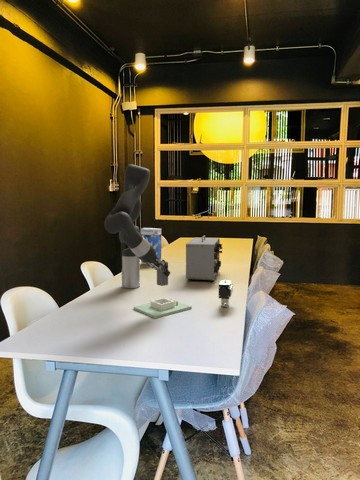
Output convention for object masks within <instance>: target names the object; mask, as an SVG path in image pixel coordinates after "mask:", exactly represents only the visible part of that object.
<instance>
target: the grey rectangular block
mask: <svg viewBox="0 0 360 480" xmlns="http://www.w3.org/2000/svg"><path fill="white" fill-rule="evenodd" d="M165 262H166V264H167V265H168V266H169V262H168V261H165ZM159 265H160V264H159ZM167 269H168V270H169V267H168V268H167ZM156 285H157V286H161V287H163V286H168V285H169V276H166V275H165V274H164V273H163V272H162V271H161V270H160V269H157V270H156Z"/></svg>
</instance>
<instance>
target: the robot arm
mask: <svg viewBox="0 0 360 480" xmlns="http://www.w3.org/2000/svg"><path fill="white" fill-rule="evenodd" d="M123 178H124V179H123V188H124V189H123V193H122V194H121V195H120V197H119V199H117V202H116V204H115V207H113V208H112V210H111V211H110V212H109V213H108V215H107V216H106V217H105V220H104V229H105V230H106V232H107V233H109V234H117V233H118V238H119V239H118V240H119V241H120V243H122V244H124V245H126V246H127V248H125V249H123V250H122V252H121V254H122V259H121V260H122V261H121V262H122V269H121V288H124V289H136V288H140V286H141V279H140V278H141V274H140V273H141V271H140V270H141V269H140V268H141V267H140V265H141V264H140V261H142V262H143V263H146V264H145V265H148V266H149V267H150V268H151V269H154V270H155V271H157V269H160V270H161V271H162V272H163V273H164V274H165V275H166V276H168V277H169V276H170V275H171V271H170V270H169V264H168V265H167V264H166V262H167V261H165V259H161V260H160V259H159V257H157V256H156V250H155V249H154V248H153V247H152V245H151V244H150V243H149V242H148V241H147V240H146V239H145V238H144V237H143V236H142V235H141V230H140V227H139V226H137V225H135V223H134V222H135V221H136V220H138V218H139V217H140V215H141V211H142V201H141V199H140V197H141V196H142V194H143V193H144V192H145V190H146V188H147V187H148V184H149V183H150V178H151V170H150V169H149V168H146V167H144V166H140V165H136V164H133V163H132V164H128V165H127V166H126V167H125V170H124V177H123ZM159 264H160V265H159ZM167 268H168V269H167Z"/></svg>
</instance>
